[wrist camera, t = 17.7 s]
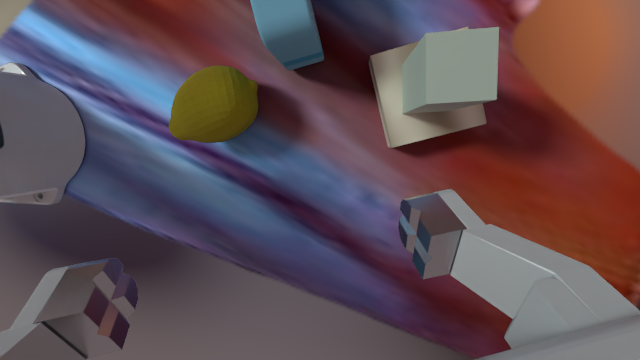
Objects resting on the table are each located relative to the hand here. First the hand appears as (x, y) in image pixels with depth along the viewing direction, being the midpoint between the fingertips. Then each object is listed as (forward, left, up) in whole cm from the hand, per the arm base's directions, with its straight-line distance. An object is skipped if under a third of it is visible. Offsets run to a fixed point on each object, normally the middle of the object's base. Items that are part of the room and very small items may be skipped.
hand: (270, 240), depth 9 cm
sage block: (+11, +6, -25) cm, 28 cm away
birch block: (+12, +6, -29) cm, 32 cm away
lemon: (-12, +8, -29) cm, 32 cm away
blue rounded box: (-2, +17, -29) cm, 34 cm away
